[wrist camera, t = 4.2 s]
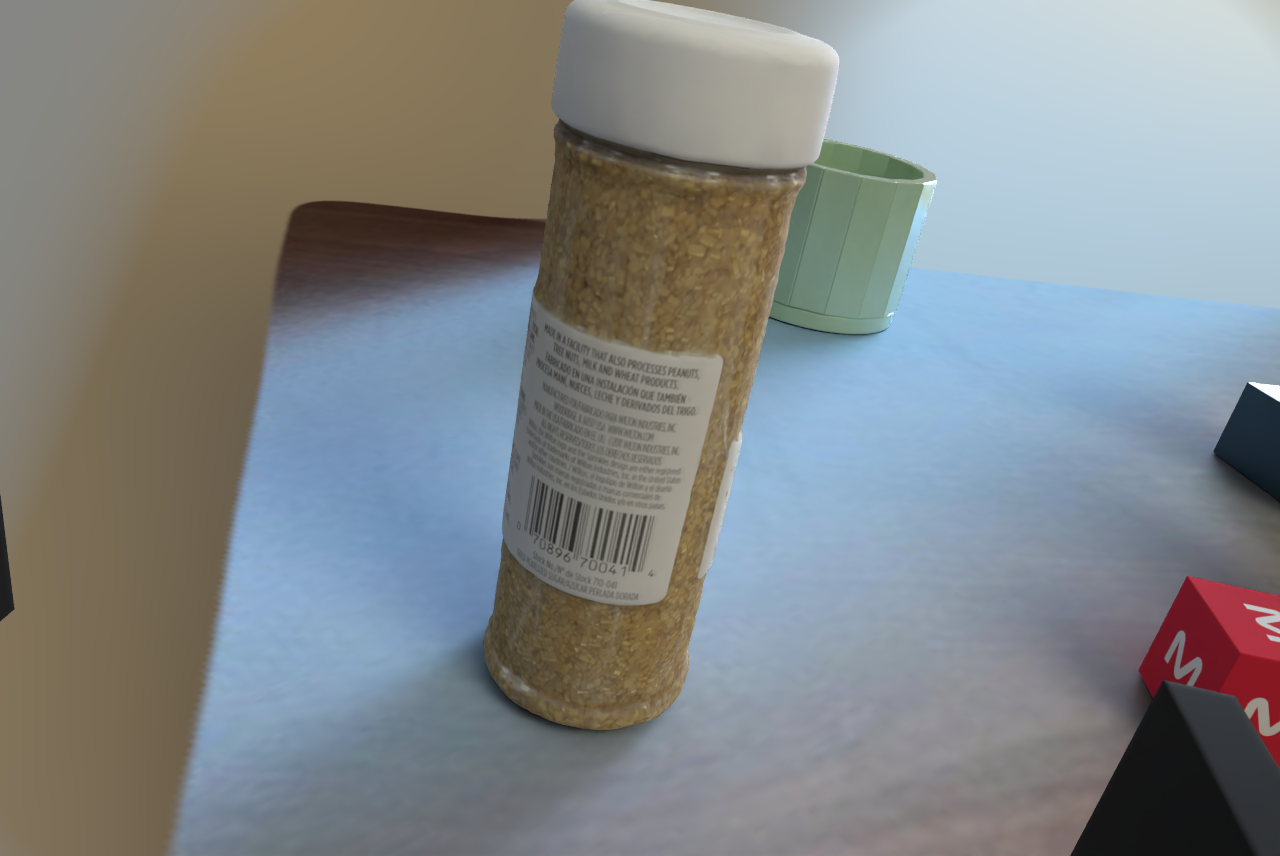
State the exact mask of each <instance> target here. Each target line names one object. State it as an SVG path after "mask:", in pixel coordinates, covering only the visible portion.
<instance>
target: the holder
mask: <svg viewBox="0 0 1280 856" xmlns="http://www.w3.org/2000/svg"><path fill="white" fill-rule="evenodd" d="M806 172H807V176H806V182H805V184H804V185H803V187H802V188H801V189H800V191H799V193H798V195H797V197H796V200H795V205H794V208H793V210H792V213H791V216H790V222H789V231H788V236H787V240H786V242H785V251H784V255H783V259H782V261H781V265H780V269H779V277H778V283H777V286H776V289H775V292H774V297H773V302H772V307H771V311H770V316H769V317H772V318H774V319H777V320H780V321H783V322H786V323H789V324H793V325H797V326H800V327H804V328H809V329H813V330H819V331H824V332H831V333H841V334H870V333H876V332H880V331H883V330H885V329H886V328H888V327H889V326H890V325H891V323H892V320H893V317H894V313H895V311H896V310H897V308H898V305H899V301H900V298H901V295H902V292H903V289H904V285H905V282H906V279H907V276H908V273H909V269H910V266H911V263H912V260H913V257H914V253H915V250H916V247H917V244H918V240H919V237H920V234H921V231H922V227H923V224H924V221H925V218H926V215H927V212H928V208H929V205H930V202H931V198H932V195H933V192H934V189H935V186H936V183H937V181H936V176H935V174H933V173H932V172H930V171H928V170H927V169H925V168H923V167H922V166H920V165H917V164H915V163H912V162H909V161H907V160H904V159H901V158H899V157H896V156H893V155H889V154H886V153H882V152H879V151H875V150H872V149H869V148H865V147H860V146H856V145H851V144H846V143H842V142H838V141H833V140H827V139H823V143H822V147H821V151H820V155H819V157H818V159H817V160H816V161H815V162H813V163H812V164H810V165H808V166H806Z"/></svg>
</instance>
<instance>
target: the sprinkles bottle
mask: <svg viewBox="0 0 1280 856" xmlns="http://www.w3.org/2000/svg"><path fill="white" fill-rule="evenodd" d="M838 70H839V57H838V54H837V52H836V51H835V50H834V48H832V47H831V46H829V45H828V44H826V43H824V42H822V41H820V40H817V39H814V38H811V37H808V36H804V35H801V34H799V33H797V32H795V31H792V30H790V29H786V28H782V27H779V26H775V25H772V24H768V23H764V22H759V21H755V20H751V19H747V18H742V17H737V16H732V15H728V14H723V13H719V12H713V11H708V10H703V9H698V8H692V7H687V6H681V5H676V4H669V3H663V2H657V1H650V0H574V1H573V2H571V3H570V4H569V6H568V7H567V9H566V12H565V16H564V22H563V28H562V34H561V40H560V46H559V53H558V59H557V65H556V72H555V79H554V87H553V95H552V109H553V111H554V113H555V114H556V115H557V116H558V117H559V121H558V123H557V124H556V125H555V127H554V139H555V143H556V144H555V165H554V170H553V178H552V184H551V190H550V200H549V204H548V211H547V220H546V226H545V233H544V241H543V246H542V251H541V262H540V268H539V274H538V278H537V281H536V285H535V287H534V289H533V296H532V302H531V309H530V316H529V324H528V331H527V339H526V346H525V354H524V362H523V369H522V377H521V384H520V392H519V400H518V408H517V416H516V424H515V431H514V438H513V445H512V453H511V460H510V468H509V475H508V482H507V490H506V497H505V505H504V512H503V521H502V530H503V542H502V548H501V563H500V570H499V575H498V581H497V587H496V594H495V603H494V611H493V615H492V616H491V617H490V620H489V623H488V626H487V629H486V632H485V637H484V658H485V661H486V663H487V665H488V669H489V672H490V674H491V676H492V678H493V679H494V680H495V681H496V683H497V685H498V686H499V687H500V689H501V690H502V691H503V692H504V693H505V694H506V696H507V697H508V698H509V699H511V700H512V701H513V702H515V703H516V704H517V705H519V706H520V707H522V708H525V709H527V710H528V711H530V712H531V713H533V714H536V715H539V716H541V717H543V718H545V719H547V720H550V721H553V722H556V723H559V724H563V725H568V726H574V727H578V728H582V729H591V730H614V729H619V728H623V727H627V726H631V725H635V724H639V723H642V722H645V721H648V720H651V719H654V718H656V717H658V716H659V715H660V714H661V713H663V712H664V711H665V709H666V708H668V707H669V706H670V705H671V704H672V703H673V702H674V700H675V699H676V698H677V696H678V695H679V693H680V691H681V689H682V686H683V684H684V682H685V679H686V675H687V673H688V669H689V655H688V647H689V641H690V637H691V634H692V630H693V627H694V623H695V618H696V614H697V611H698V607H699V603H700V598H701V593H702V587H703V582H704V579H705V576H706V573H707V571H708V570H709V568H710V567H711V564H712V561H713V558H714V555H715V551H716V547H717V542H718V538H719V534H720V530H721V527H722V523H723V519H724V515H725V511H726V507H727V503H728V499H729V495H730V490H731V485H732V481H733V476H734V472H735V468H736V464H737V460H738V456H739V452H740V448H741V444H742V423H743V417H744V413H745V411H746V409H747V406H748V400H749V396H750V391H751V388H752V386H753V380H754V377H755V371H756V367H757V364H758V361H759V357H760V352H761V347H762V341H763V338H764V335H765V331H766V324H767V320H768V318H769V316H770V311H771V307H772V302H773V297H774V292H775V289H776V286H777V283H778V277H779V269H780V265H781V261H782V259H783V255H784V251H785V242H786V240H787V236H788V231H789V222H790V216H791V213H792V210H793V208H794V205H795V200H796V197H797V195H798V193H799V191H800V189H801V188H802V187H803V185H804V184H805V182H806V176H807V172H806V166H808V165H810V164H812V163H813V162H815V161H816V160H817V159H818V157H819V155H820V151H821V147H822V143H823V139H824V135H825V131H826V127H827V123H828V119H829V114H830V110H831V105H832V100H833V96H834V91H835V87H836V81H837V76H838Z"/></svg>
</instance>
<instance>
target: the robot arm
mask: <svg viewBox="0 0 1280 856" xmlns="http://www.w3.org/2000/svg"><path fill="white" fill-rule="evenodd" d="M13 610H14V603H13V594H12V586H11V578H10V570H9V562H8V554H7V546H6V538H5V529H4V521H3V513H2V506H1V497H0V621H1V620H2V619H3V618H5V617H6V616H7V615H8V614H9V613H10V612H11V611H13ZM1070 856H1280V769H1279V767H1278V765H1277V764H1276V762H1275V760H1274V759H1273V757H1272V755H1271V754H1270V752H1269V750H1268V749H1267V747H1266V745H1265V744H1264V742H1263V741H1262V739H1261V737H1260V736H1259V734H1258V732H1257V731H1256V729H1255V727H1254V726H1253V724H1252V722H1251V721H1250V719H1249V717H1248V716H1247V714H1246V713H1245V711H1244V709H1243V708H1242V706H1241V704H1240V703H1239V701H1238V699H1237V698H1236V696H1233V695H1228V694H1224V693H1219V692H1215V691H1211V690H1206V689H1202V688H1198V687H1193V686H1189V685H1184V684H1180V683H1176V682H1171V681H1167V680H1163V681H1162V683H1161V685H1160V687H1159V689H1158V690H1157V692H1156V694H1155V696H1154V698H1153V700H1152V702H1151V704H1150V706H1149V708H1148V709H1147V711H1146V713H1145V715H1144V717H1143V719H1142V721H1141V723H1140V725H1139V726H1138V728H1137V730H1136V732H1135V734H1134V736H1133V738H1132V740H1131V742H1130V744H1129V745H1128V747H1127V749H1126V751H1125V753H1124V755H1123V757H1122V759H1121V761H1120V762H1119V764H1118V766H1117V768H1116V770H1115V772H1114V774H1113V776H1112V778H1111V780H1110V781H1109V783H1108V785H1107V787H1106V789H1105V791H1104V793H1103V795H1102V797H1101V799H1100V800H1099V802H1098V804H1097V806H1096V808H1095V810H1094V812H1093V814H1092V816H1091V817H1090V819H1089V821H1088V823H1087V825H1086V827H1085V829H1084V831H1083V833H1082V835H1081V836H1080V838H1079V840H1078V842H1077V844H1076V846H1075V848H1074V850H1073V852H1072V853H1071V855H1070Z"/></svg>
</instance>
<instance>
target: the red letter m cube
mask: <svg viewBox="0 0 1280 856" xmlns="http://www.w3.org/2000/svg"><path fill="white" fill-rule="evenodd" d="M1139 673H1140V675H1141V676H1142V678H1143V680H1144V682H1145V684H1146V686H1147V688H1148V690H1149V692H1150V694H1151V696H1152V697H1153V698H1154V696H1155V694H1156V692H1157V690H1158V689H1159V687H1160V685H1161V683H1162V681H1163V680H1167V681H1171V682H1176V683H1180V684H1184V685H1189V686H1193V687H1198V688H1202V689H1206V690H1211V691H1215V692H1219V693H1224V694H1228V695H1233V696H1236V698H1237V699H1238V701H1239V703H1240V704H1241V706H1242V708H1243V709H1244V711H1245V713H1246V714H1247V716H1248V717H1249V719H1250V721H1251V722H1252V724H1253V726H1254V727H1255V729H1256V731H1257V732H1258V734H1259V736H1260V737H1261V739H1262V741H1263V742H1264V744H1265V745H1266V747H1267V749H1268V750H1269V752H1270V754H1271V755H1272V757H1273V759H1274V760H1275V762H1276V764H1277V765H1278V767H1279V769H1280V596H1279V595H1274V594H1269V593H1265V592H1260V591H1255V590H1251V589H1246V588H1241V587H1237V586H1232V585H1227V584H1223V583H1218V582H1213V581H1209V580H1204V579H1199V578H1195V577H1190V576H1187V577H1186V579H1185V581H1184V583H1183V585H1182V587H1181V589H1180V591H1179V593H1178V595H1177V597H1176V599H1175V601H1174V602H1173V604H1172V606H1171V608H1170V610H1169V612H1168V614H1167V616H1166V618H1165V620H1164V622H1163V624H1162V626H1161V628H1160V630H1159V632H1158V633H1157V635H1156V637H1155V639H1154V641H1153V643H1152V645H1151V647H1150V649H1149V651H1148V653H1147V655H1146V657H1145V659H1144V661H1143V663H1142V665H1141V666H1140V668H1139Z"/></svg>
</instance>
